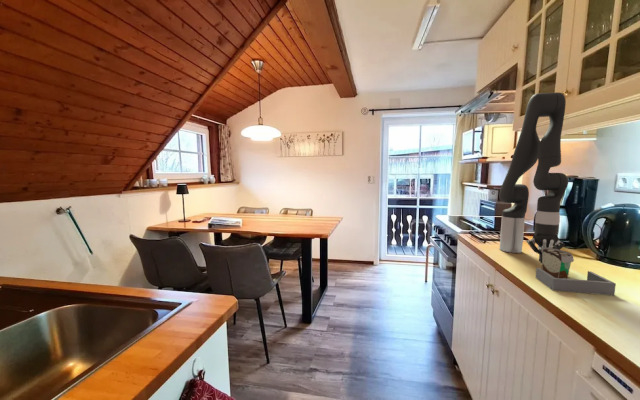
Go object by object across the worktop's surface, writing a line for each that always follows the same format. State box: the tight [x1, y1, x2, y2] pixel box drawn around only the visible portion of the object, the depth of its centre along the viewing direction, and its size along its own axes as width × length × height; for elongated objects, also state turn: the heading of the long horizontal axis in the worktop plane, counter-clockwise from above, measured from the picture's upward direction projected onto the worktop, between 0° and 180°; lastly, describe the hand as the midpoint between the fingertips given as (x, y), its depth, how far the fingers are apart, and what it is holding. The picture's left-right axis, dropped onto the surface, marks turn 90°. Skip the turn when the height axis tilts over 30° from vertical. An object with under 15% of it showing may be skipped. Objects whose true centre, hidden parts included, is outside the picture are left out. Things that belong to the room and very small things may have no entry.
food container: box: [541, 247, 575, 279], centre depth 100 cm, size 12×6×10 cm, turn 168°
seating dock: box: [535, 267, 616, 296], centre depth 93 cm, size 10×17×4 cm, turn 77°
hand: (543, 263), depth 110 cm, fingers closed
